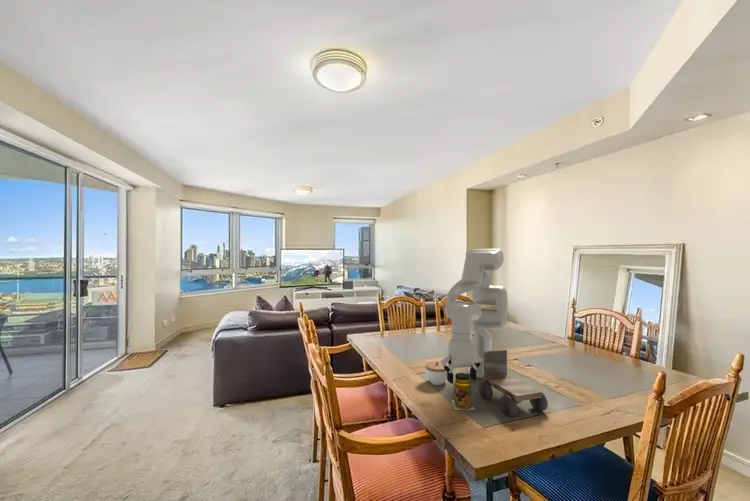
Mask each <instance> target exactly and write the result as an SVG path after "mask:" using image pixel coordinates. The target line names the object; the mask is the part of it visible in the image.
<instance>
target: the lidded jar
mask: <svg viewBox="0 0 750 501" xmlns="http://www.w3.org/2000/svg"><path fill="white" fill-rule="evenodd" d="M446 365H447V366H448V365H449V364H448V363H446ZM424 367H425V376H426V378H427V380H428V381H429V382H430V383H431V384H432V385H435V386H442V385H444V384H445V382H446V381H448V380H447V371H446V370H445V369H444V368H443V366H442V364H441V361H437V360H436V361H435V360H433V361H429V362H427V363H425V365H424Z"/></svg>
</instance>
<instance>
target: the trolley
mask: <svg viewBox="0 0 750 501" xmlns="http://www.w3.org/2000/svg"><path fill="white" fill-rule="evenodd" d="M493 388H494V389H496V391H497V390H498V392H500V393H501V394H504V395H501V396H500V398H499V405H500V409H501V411H502V413H503V414H504V415H505V416H507V417H508V418H511V417H514V416H515V417H516V415H517V414H518V404H517V402H524V401H529V403H530V405H531V406H532V408H533V409H534V410H535V411H537V412H543V411H546V410H547V409H548V404H549V403H548V398H547V397H546V395H545V393H544V392H543V391H542V390H540V389H537V388H536V387H533V386H532V385H529V384H528V383H525V382H524V381H522V380H520V379H519V378H516V377H515V376H513V375H511V374H509V373H508V350H507V349H506V348H503V349H502V348H500V349H492V350H491V351H484V376H483V378H482V380H481V381H478V385H477V390H478V393H479V396H480V397H481V399H482V400H484V401H486V400H491V399H492V398H493V395H494V393H493V392H494V390H493Z"/></svg>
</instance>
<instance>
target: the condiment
mask: <svg viewBox="0 0 750 501" xmlns="http://www.w3.org/2000/svg"><path fill="white" fill-rule="evenodd" d="M470 380H471V379H470V374H469V373H467V372H466V373H465V372H457V373H455V378H454V381H453V384H454V385H453V386H454V395H453V396H454V399H450V401H451V403H452V405H453V408H454V409H455V411H471V410H473V411H474V410H475V411H476V408H475V407H474V405H473V403H472V397H471V396H472V391H471V390H472V389H471V388H472V387H471V382H470Z"/></svg>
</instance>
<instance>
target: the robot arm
mask: <svg viewBox="0 0 750 501" xmlns="http://www.w3.org/2000/svg"><path fill="white" fill-rule="evenodd" d="M504 257H505V256H504V252H503V251H502V249H500V248H471V249H469V250H467V251H466V252H465V259H464V264H463V271H462V275H461V279H459V280H458V281H457V282H456V283H455V284H454V285H453V286H451V288H450V289H449V290H448V293H447V296H446V300H445V305H444V314H445V316H446V318H448V319H451V338H449V341H448V345H447V346H448V347H447V355H446V357H444V358H442V359H441V360H440V362H441V364H442V366H443V368H444V369H445V370H446V371H447V380H446V381H447V382H448V383H450V384H454V373H453V371H454V370H455V369H457V368H466V367H469V368H468V369H467V374H468V375H469V379H470V380H472V381H473V382H477V378H478V379H483V376H484V351H491V350H493V349H492V347H493V346H492V342H493V341H492V340H493V339H492V335H491V334H490V331H488V329H489V330H498V331H499V330H500V331H501V330H503V331H504V330H505V329H506V328H507V327H508V292H507V289H506V288H505V287H504V286H501V285H492V279H491V278H492V276H491V273H490V271H491V272H492V271H493V272H494V271H498V270H499V269H500V268H501V267H502V265H503V264H504ZM470 291H471V293H472V294H471V295H472V301H466V300H457V298H459V297H460V296H461V295H462V294H463V295H464V294H465V293H468V292H470ZM482 306H492V307H493V306H494V307H496V308H489V307H482ZM446 363H447V364H448V366H447V365H446Z"/></svg>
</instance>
